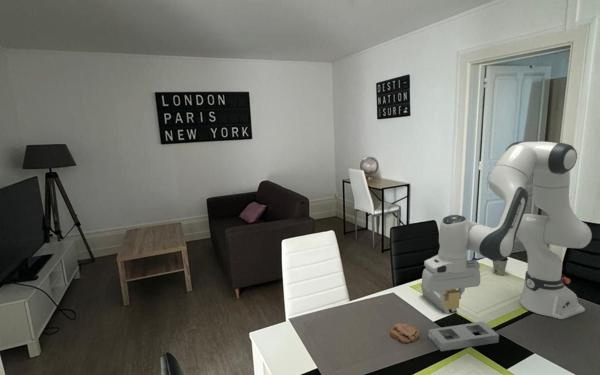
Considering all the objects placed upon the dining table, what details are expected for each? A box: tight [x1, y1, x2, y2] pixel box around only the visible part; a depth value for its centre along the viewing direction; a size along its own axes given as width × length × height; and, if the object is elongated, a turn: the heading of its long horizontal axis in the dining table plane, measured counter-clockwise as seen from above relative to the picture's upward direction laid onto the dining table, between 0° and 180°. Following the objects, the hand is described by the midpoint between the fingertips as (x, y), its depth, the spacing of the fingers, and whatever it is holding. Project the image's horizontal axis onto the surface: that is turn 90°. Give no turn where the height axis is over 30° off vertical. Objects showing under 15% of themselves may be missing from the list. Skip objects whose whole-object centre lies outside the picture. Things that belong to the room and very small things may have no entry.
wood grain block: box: [442, 289, 460, 309], centre depth 111 cm, size 4×4×6 cm
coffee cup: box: [492, 257, 509, 277], centre depth 161 cm, size 7×7×10 cm
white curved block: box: [420, 283, 458, 315], centre depth 137 cm, size 17×5×10 cm, turn 14°
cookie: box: [389, 322, 420, 344], centre depth 118 cm, size 10×11×3 cm
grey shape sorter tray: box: [428, 321, 500, 352], centre depth 114 cm, size 22×8×3 cm, turn 98°
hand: (450, 299), depth 111 cm, fingers closed on wood grain block, 4 cm apart
